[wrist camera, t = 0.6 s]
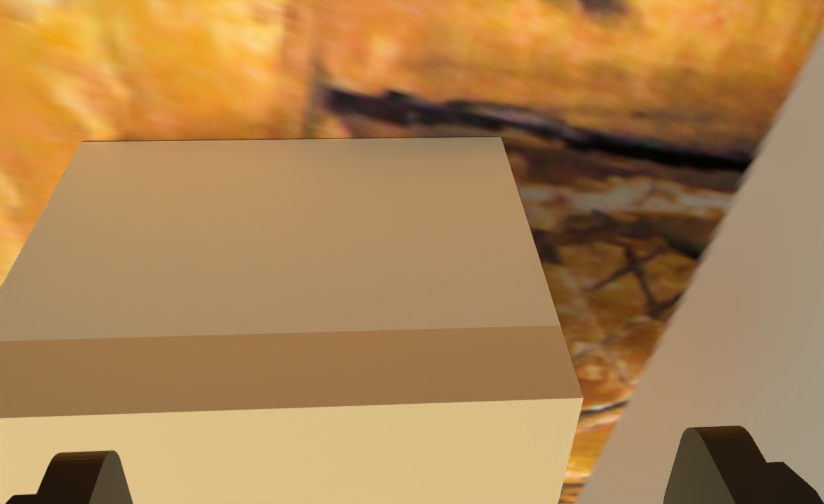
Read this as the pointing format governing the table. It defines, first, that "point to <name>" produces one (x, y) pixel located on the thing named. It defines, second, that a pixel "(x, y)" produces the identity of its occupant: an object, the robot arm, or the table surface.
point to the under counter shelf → (288, 326)
